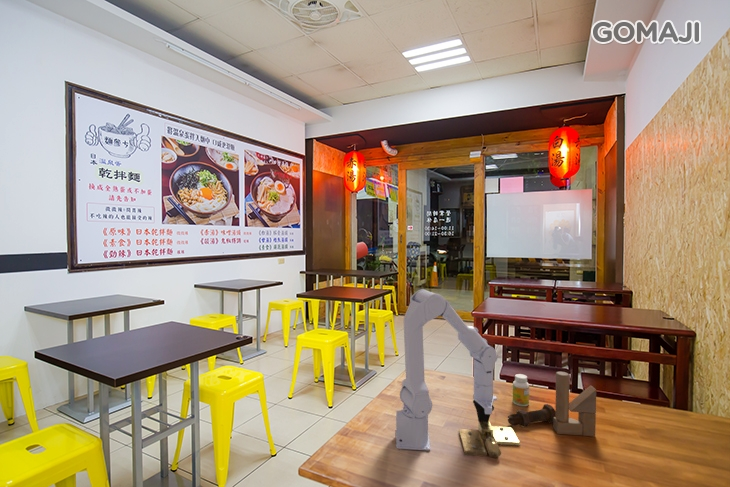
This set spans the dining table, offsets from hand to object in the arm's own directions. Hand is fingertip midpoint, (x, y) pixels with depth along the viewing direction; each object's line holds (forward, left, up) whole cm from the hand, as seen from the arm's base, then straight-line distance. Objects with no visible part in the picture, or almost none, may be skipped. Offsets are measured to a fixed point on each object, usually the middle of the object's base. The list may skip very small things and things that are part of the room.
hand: (483, 425), depth 113 cm
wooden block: (+27, +1, -1) cm, 27 cm away
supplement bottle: (+17, +19, -1) cm, 26 cm away
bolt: (+16, +5, -2) cm, 17 cm away
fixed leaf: (-3, -8, -1) cm, 9 cm away
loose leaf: (+3, -4, -1) cm, 5 cm away
